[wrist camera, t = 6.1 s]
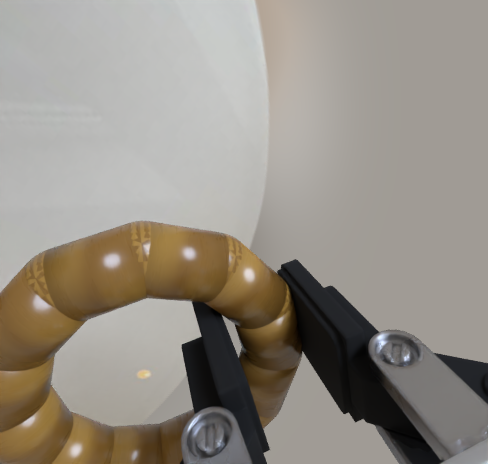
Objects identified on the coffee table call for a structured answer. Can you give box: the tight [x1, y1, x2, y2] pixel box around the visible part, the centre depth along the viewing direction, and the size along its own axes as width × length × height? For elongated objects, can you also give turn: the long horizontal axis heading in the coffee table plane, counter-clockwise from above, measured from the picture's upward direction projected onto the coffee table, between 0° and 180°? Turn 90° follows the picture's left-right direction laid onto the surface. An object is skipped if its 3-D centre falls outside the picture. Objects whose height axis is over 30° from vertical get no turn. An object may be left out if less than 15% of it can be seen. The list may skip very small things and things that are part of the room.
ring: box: [0, 221, 302, 464], centre depth 10 cm, size 10×10×2 cm
